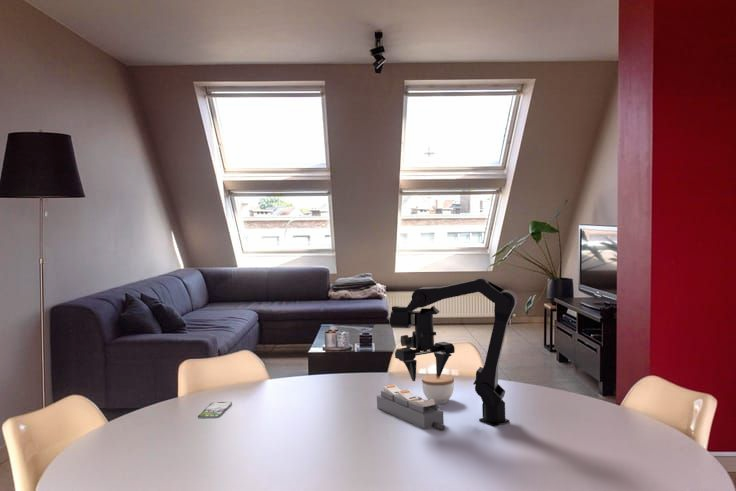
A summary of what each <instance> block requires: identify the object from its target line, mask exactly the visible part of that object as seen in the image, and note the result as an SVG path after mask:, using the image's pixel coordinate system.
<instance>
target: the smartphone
mask: <svg viewBox="0 0 736 491" xmlns="http://www.w3.org/2000/svg"><path fill="white" fill-rule="evenodd" d="M232 406H233V402H232V401H214V402H210V404H208V406H207V407H205V409H204V410H202V412H201V413H200V414H199V415H197V418H198V419H218V418H221V417H222V416H223V415H224V414H225V413H226V412H227V411H228V410H229V409H230V408H231V407H232Z"/></svg>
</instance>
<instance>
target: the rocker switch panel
mask: <svg viewBox="0 0 736 491" xmlns="http://www.w3.org/2000/svg"><path fill="white" fill-rule="evenodd" d="M416 396H417V397H418V398H419V400H421V399H423V398H422V397H421V396H418V395H416ZM394 398H395V399H394ZM376 408H377V409H378V410H380V411H383V412H385V413H388V414H390V415H392V416H395V418H396V417H397V418H399V419H401V420H403V421H406V422H408V423H410V424H412V425H414V426H416V427H419V428H421V429H422V430H426V429H431V428H435V429H438V430H439V431H444V430H445V425H444V424H445V423H444V421H445V420H444V411H443V410H441V409H440V408H439V404H437V403H435V405H431V406H426V407H422V406H420V405H417V404H415V403H412V402H409V403H408V401H407V400H405V399H402V398H400V397H397V396H394V395H392V394H390V393H387V392H385V391H384V390H380V394H378V395H376Z"/></svg>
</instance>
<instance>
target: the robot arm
mask: <svg viewBox="0 0 736 491" xmlns="http://www.w3.org/2000/svg"><path fill="white" fill-rule="evenodd" d="M475 293H480V294H481V295H483V297H485V298H487V300H488V301H490V302H492V303H493V304H494V305H493V306H494V307H493V308H494V312H493V313H494V314H493V315H494V322H493V326H492V329H491V336H490V339H489V340H490V341H489V342H488V343H489V344H488V349H487V352H486V357H485V361H484V365H483V367H482V366H479V367H478V369H477V370H476V372H475V379H474V382H473V383H472V384H473V386H474V391H475V393H476V394H477V396H478V397H480V398H481V401H482V405H481V406H482V407H481V410H482V411H481V412H482V417H481V418H479V419H478V421H479V422H482V423H486V424H487V425H490V426H492V427H495V426H499V425H503V424H507V423H509V422H510V419H507V418H506V401H504V400H503V398H504V397H505V394H506V390H505V389H504V388H503V387H502V386H501V385H500V384H499V363H500V359H501V354H502V349H503V346H504V342H505V337H506V334H507V330H508V329H507V328H508V326H509V325H508V324H509V322H510V319H511V317H512V314H513V313H514V311H515V309H516V306H517V304H518V295H517V294H516V293H515V291H513V290H511V289H504V288H502V287H501V286H499V285H498V284H495V283H493V282H492V281H489V280H488V279H487V278H485V277H479V278H477V279H473V280H468V281H464V282H458V283H454V284H449V285H446V286H422V287H421V288H417V289H415V290H414V291H413V292H412V294H411V300H410V302H408V303H409V304H407V306H398V305H393V306H392V307H391V311H390V316H389V325H390V327H391V328H393V329H410V328H411V327H412V326H413V325H414V331H412V333H411V334H412V335H411V336H409V335H408V334H404V335H401V336H400V344H401V347H402V348H400V347H399V348H396V350H395V351H394V359H397V360H399V361H400V362H403V363H404V365H405V366H406V369H407V371H408V373H409V376H410V379H411V381H412V382H416V378H417V364H418V362H417V360H416V356H421V355H427V354H433V355H434V358H435V365H436V367H435V369H436V373H437V376H438V377H440V375H441V374H443V373H442V372H443V370H444V368H445V365H446V364H447V362H448V360H449V358H451V357H452V354H455V352H456V351H455V350H456V348H455V345H454V344H453V343H451V342H448V341H439V342H435V336H437V331H435V330H434V315H438V314H440V312H441V311H440V310H439V309H438V308H436V307H435V305H433V304H435V303H438V302H440V301H442V300H445V299H450V298H455V297H460V296H465V295H471V294H475ZM430 305H432V306H431V307H430V308H429V307H427V306H430ZM419 308H421V309H420V310H417V309H419Z"/></svg>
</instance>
